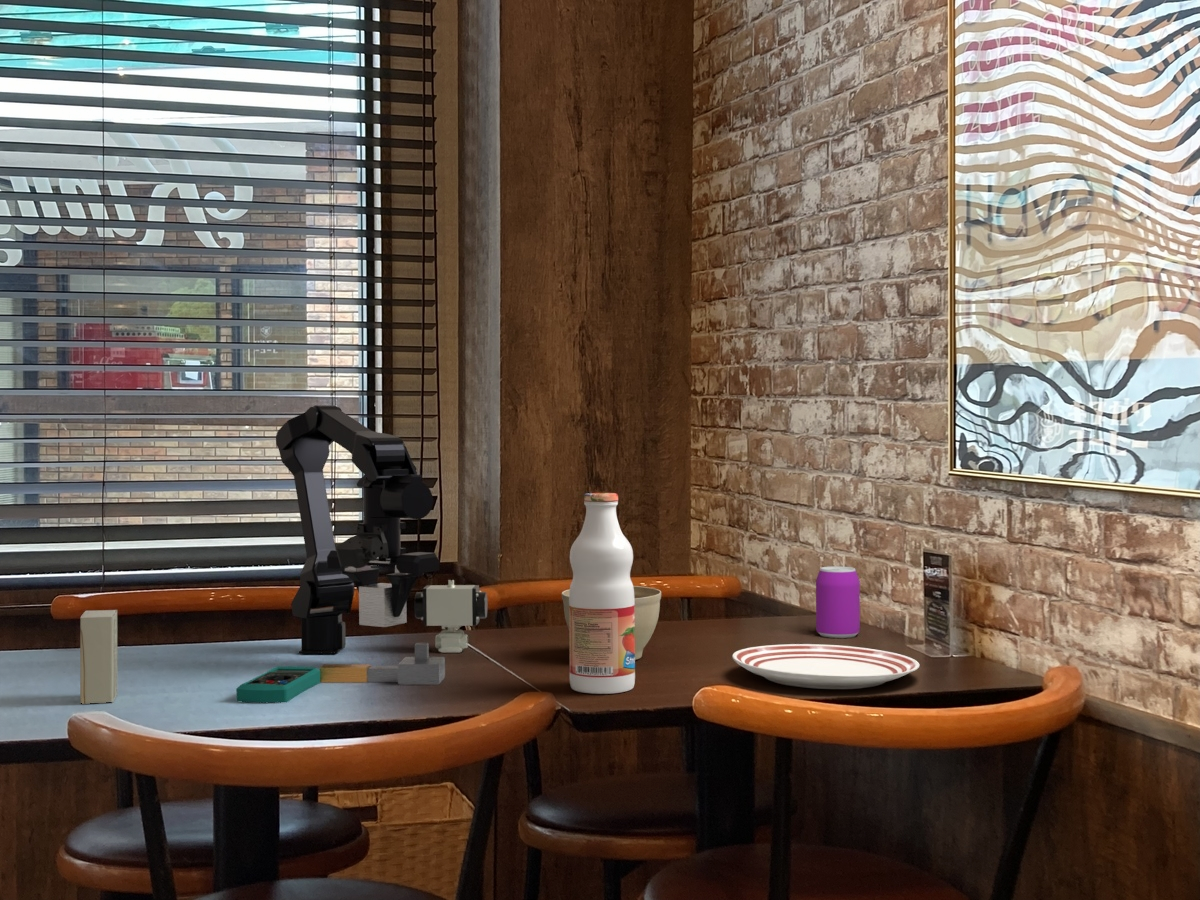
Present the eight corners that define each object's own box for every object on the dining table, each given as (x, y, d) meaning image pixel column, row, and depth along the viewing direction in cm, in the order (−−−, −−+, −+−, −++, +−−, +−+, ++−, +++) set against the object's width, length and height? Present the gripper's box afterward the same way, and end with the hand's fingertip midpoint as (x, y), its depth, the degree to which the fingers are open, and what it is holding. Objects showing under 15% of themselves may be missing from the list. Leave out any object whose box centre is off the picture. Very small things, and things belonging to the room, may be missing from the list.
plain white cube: (359, 624, 202) (358, 586, 202) (381, 620, 206) (380, 582, 206) (384, 627, 199) (384, 588, 199) (406, 622, 203) (406, 584, 203)
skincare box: (85, 696, 182) (84, 610, 182) (119, 694, 183) (118, 609, 183) (79, 705, 176) (78, 616, 176) (114, 703, 177) (113, 615, 177)
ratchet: (316, 684, 189) (316, 647, 189) (326, 676, 195) (326, 640, 195) (439, 684, 189) (438, 647, 188) (445, 676, 195) (444, 640, 194)
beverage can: (810, 632, 233) (809, 566, 233) (850, 631, 234) (850, 565, 234) (825, 639, 225) (824, 571, 225) (866, 638, 227) (866, 570, 227)
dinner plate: (853, 656, 210) (853, 636, 210) (958, 688, 184) (958, 665, 184) (701, 669, 200) (701, 648, 200) (789, 704, 174) (789, 680, 174)
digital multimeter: (233, 705, 177) (233, 684, 177) (274, 684, 192) (274, 664, 192) (284, 707, 176) (284, 685, 176) (321, 685, 191) (321, 665, 191)
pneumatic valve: (485, 653, 214) (484, 581, 214) (414, 654, 214) (414, 582, 214) (488, 648, 219) (488, 577, 219) (420, 648, 220) (419, 578, 219)
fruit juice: (562, 684, 188) (561, 492, 188) (624, 680, 191) (622, 491, 190) (579, 697, 179) (577, 495, 179) (643, 692, 182) (642, 494, 181)
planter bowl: (547, 654, 213) (547, 588, 213) (636, 646, 220) (635, 583, 219) (585, 670, 198) (584, 600, 198) (678, 662, 205) (678, 594, 205)
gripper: (301, 518, 200) (302, 618, 201) (393, 521, 191) (394, 627, 191) (350, 513, 210) (351, 609, 210) (441, 517, 200) (442, 617, 200)
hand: (382, 615), depth 203 cm, fingers closed on plain white cube, 5 cm apart
